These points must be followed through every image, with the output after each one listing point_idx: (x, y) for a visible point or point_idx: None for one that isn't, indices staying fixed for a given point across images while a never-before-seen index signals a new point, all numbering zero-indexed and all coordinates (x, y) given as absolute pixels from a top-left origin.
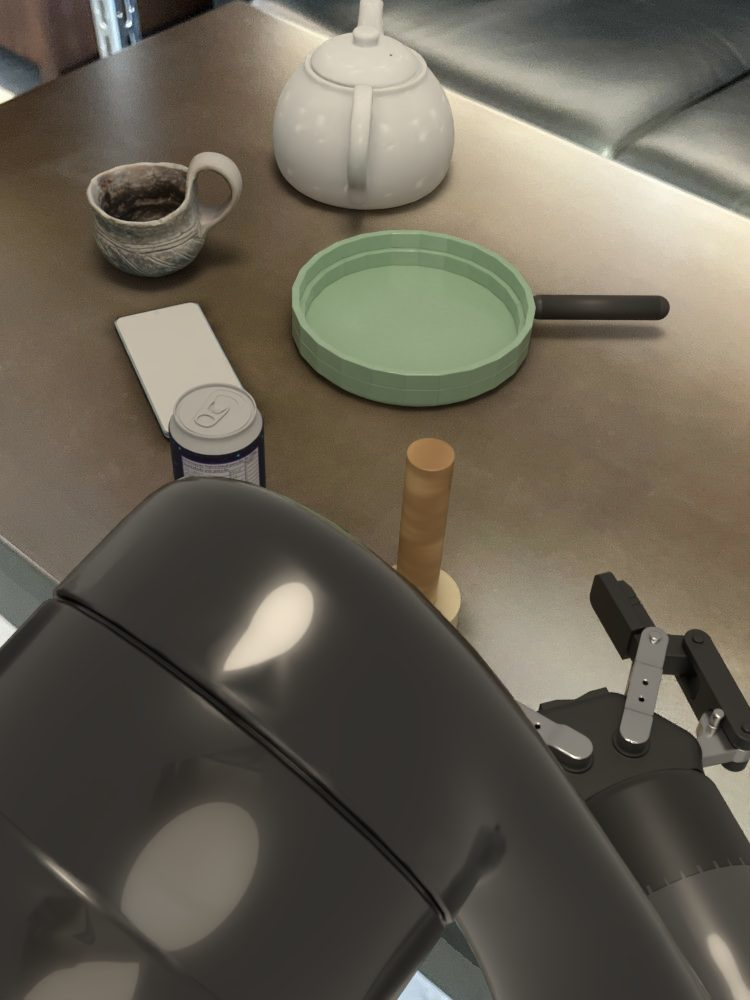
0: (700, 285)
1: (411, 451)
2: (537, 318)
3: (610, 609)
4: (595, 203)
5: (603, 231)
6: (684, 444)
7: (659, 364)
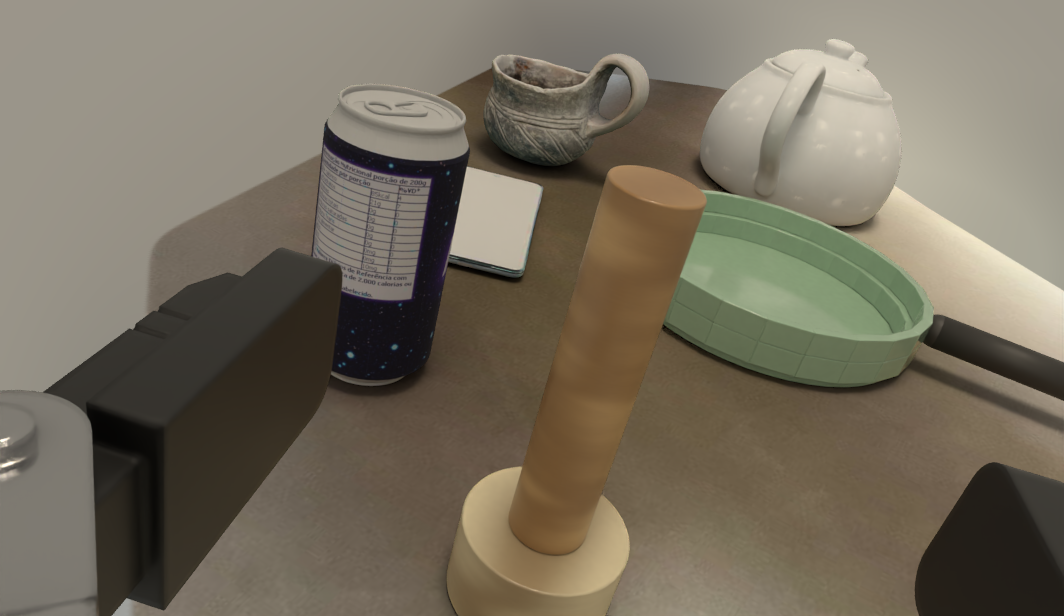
0: None
1: (623, 169)
2: (929, 342)
3: (1017, 611)
4: (1037, 306)
5: (1041, 329)
6: None
7: None
